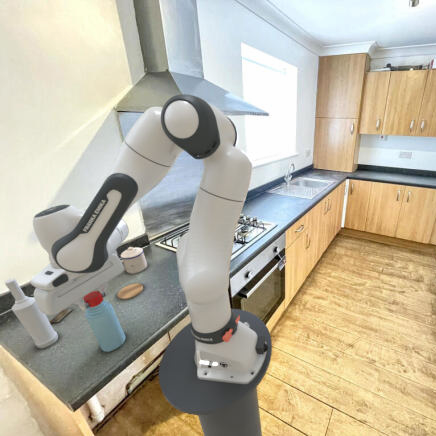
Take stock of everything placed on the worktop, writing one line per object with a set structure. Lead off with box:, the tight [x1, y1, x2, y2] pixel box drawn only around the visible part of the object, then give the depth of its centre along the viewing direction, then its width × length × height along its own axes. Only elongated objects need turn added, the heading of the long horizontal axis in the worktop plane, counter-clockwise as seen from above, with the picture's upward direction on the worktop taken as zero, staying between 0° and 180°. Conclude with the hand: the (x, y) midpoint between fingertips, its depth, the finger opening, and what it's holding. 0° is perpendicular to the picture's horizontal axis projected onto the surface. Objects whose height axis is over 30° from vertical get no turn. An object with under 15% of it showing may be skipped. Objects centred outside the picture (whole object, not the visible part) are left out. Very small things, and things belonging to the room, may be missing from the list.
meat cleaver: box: [48, 308, 73, 325], centre depth 83 cm, size 12×1×5 cm
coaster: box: [117, 282, 144, 300], centre depth 97 cm, size 9×9×1 cm
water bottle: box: [84, 299, 126, 353], centre depth 72 cm, size 6×6×19 cm
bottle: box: [4, 278, 59, 349], centre depth 71 cm, size 5×5×25 cm
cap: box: [82, 290, 104, 307], centre depth 68 cm, size 4×4×3 cm
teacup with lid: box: [120, 246, 148, 274], centre depth 109 cm, size 12×9×12 cm
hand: (94, 302), depth 69 cm, fingers closed on cap, 4 cm apart
